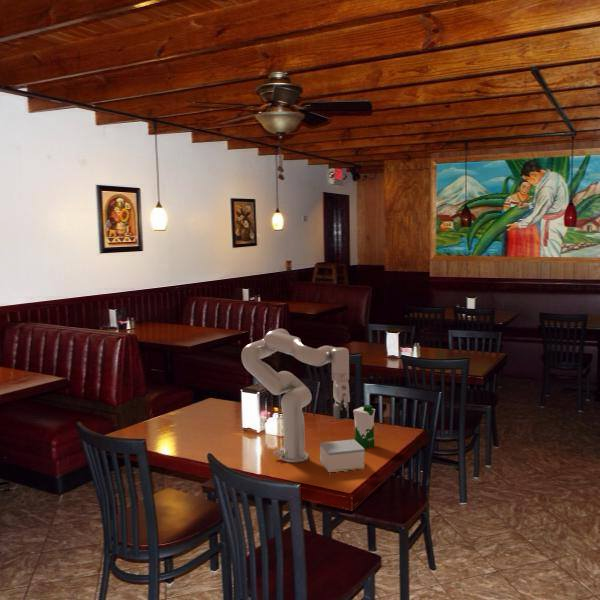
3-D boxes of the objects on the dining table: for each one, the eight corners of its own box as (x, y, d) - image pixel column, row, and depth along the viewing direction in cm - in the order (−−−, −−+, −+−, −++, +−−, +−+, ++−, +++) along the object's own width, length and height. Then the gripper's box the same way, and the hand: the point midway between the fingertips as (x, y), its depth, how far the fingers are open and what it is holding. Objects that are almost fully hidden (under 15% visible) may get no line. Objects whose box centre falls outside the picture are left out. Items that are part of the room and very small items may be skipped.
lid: (328, 454, 261) (328, 452, 261) (319, 444, 275) (319, 442, 275) (364, 450, 265) (364, 449, 265) (354, 441, 279) (354, 439, 279)
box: (328, 473, 262) (328, 455, 262) (320, 461, 276) (319, 444, 275) (364, 469, 266) (364, 451, 265) (354, 458, 280) (353, 441, 279)
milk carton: (367, 450, 289) (366, 409, 287) (351, 446, 295) (350, 406, 293) (377, 445, 296) (376, 404, 294) (361, 441, 302) (361, 401, 300)
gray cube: (336, 420, 265) (336, 406, 264) (332, 416, 271) (331, 402, 270) (350, 418, 266) (350, 405, 266) (345, 414, 273) (345, 401, 272)
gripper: (354, 379, 259) (355, 421, 261) (342, 371, 276) (343, 410, 278) (337, 381, 258) (338, 422, 259) (326, 372, 274) (327, 411, 276)
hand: (341, 415), depth 269 cm, fingers closed on gray cube, 6 cm apart
